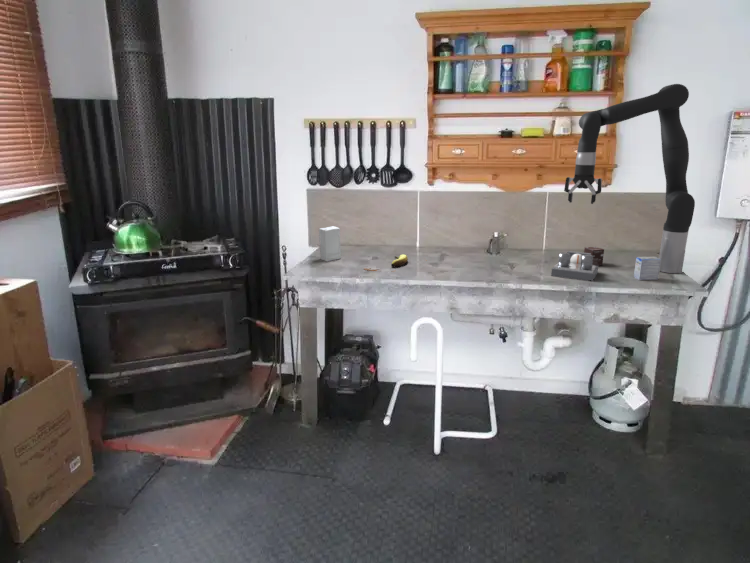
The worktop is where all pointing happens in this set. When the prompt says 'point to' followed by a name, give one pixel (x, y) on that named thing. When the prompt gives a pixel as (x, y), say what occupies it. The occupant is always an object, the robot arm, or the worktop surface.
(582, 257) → the spacer
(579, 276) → the dial scale
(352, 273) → the worktop surface
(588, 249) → the box
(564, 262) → the spacer
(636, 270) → the medicine box
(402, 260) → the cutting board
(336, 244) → the skincare box
